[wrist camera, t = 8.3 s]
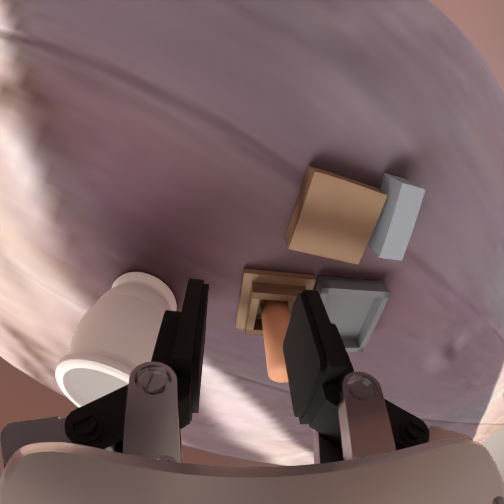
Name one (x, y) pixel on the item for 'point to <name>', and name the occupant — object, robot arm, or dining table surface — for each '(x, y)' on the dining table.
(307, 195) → the tan wooden block
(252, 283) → the holder
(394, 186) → the gray rectangular block
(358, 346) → the tray
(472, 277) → the dining table surface
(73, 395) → the jar
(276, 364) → the dowel
